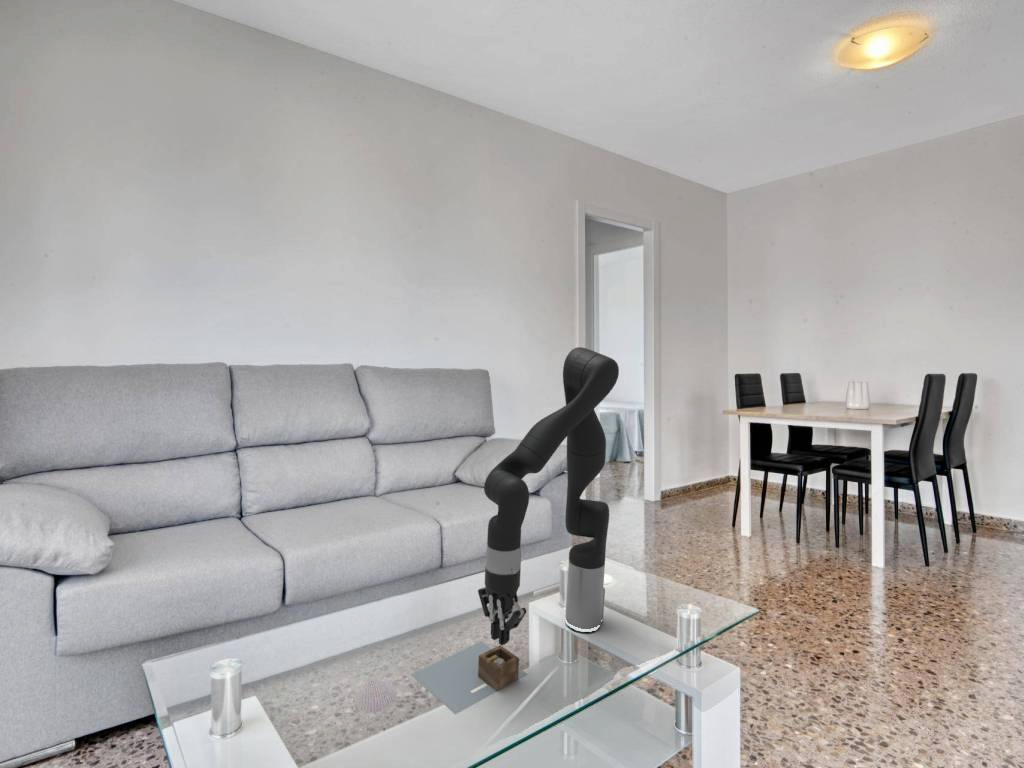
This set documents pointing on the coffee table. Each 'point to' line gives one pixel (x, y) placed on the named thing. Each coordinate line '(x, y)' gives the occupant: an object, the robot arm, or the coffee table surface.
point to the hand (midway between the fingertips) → (499, 640)
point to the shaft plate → (458, 678)
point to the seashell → (375, 695)
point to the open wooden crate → (498, 668)
